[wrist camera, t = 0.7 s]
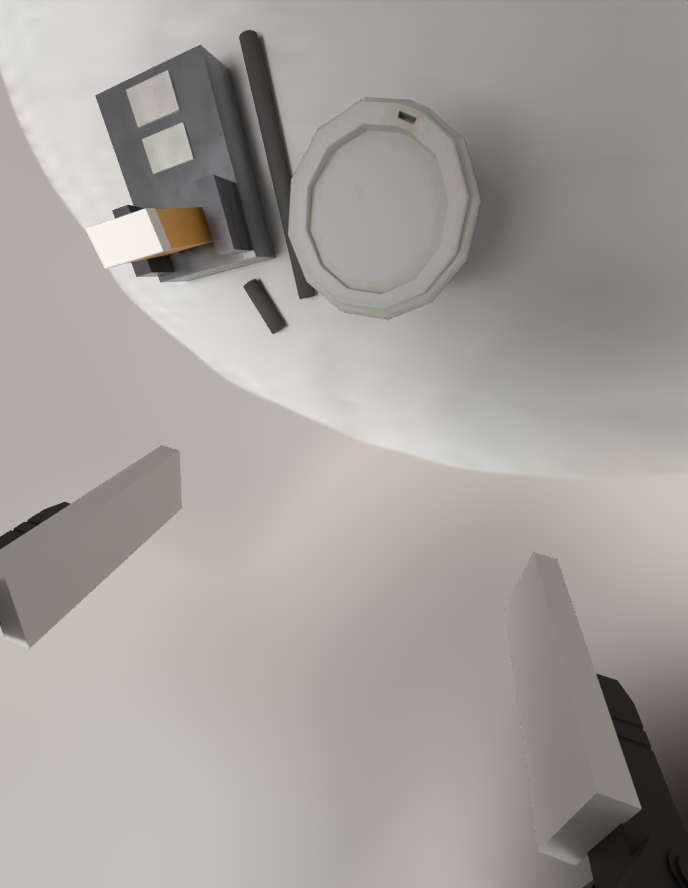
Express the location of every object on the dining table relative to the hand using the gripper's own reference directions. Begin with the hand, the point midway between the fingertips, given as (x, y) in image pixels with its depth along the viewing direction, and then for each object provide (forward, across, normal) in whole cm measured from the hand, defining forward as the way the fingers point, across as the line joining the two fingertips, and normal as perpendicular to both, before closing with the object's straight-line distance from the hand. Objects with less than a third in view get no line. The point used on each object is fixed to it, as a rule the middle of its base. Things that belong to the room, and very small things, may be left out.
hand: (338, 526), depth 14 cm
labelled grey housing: (+26, -22, +11) cm, 36 cm away
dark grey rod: (+26, -14, +12) cm, 33 cm away
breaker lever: (+21, -20, +8) cm, 30 cm away
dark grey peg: (+26, -15, +2) cm, 30 cm away
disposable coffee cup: (+27, -3, +10) cm, 29 cm away
